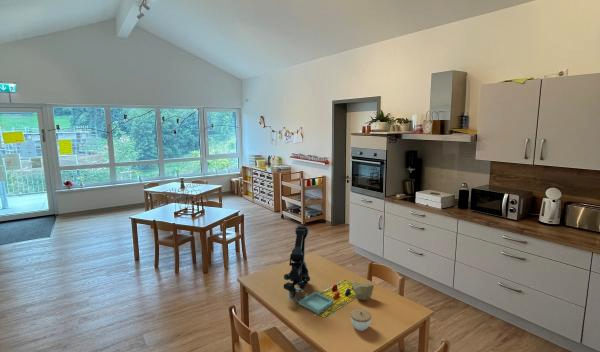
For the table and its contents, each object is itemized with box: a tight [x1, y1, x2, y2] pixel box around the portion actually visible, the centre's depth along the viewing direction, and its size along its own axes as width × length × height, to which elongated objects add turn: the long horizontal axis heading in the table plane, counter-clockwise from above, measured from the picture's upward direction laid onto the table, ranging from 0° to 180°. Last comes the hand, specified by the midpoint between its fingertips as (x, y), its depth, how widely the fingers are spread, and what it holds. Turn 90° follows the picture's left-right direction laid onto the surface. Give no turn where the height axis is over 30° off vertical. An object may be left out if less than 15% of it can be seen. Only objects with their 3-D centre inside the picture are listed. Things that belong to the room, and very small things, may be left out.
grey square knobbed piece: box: [286, 287, 308, 304], centre depth 210 cm, size 10×10×6 cm
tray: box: [298, 291, 335, 315], centre depth 202 cm, size 15×15×2 cm
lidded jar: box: [350, 308, 372, 332], centre depth 179 cm, size 11×11×9 cm
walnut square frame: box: [288, 286, 306, 301], centre depth 209 cm, size 7×9×4 cm
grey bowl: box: [350, 281, 374, 301], centre depth 208 cm, size 15×11×12 cm
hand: (297, 294), depth 210 cm, fingers closed on walnut square frame, 7 cm apart
